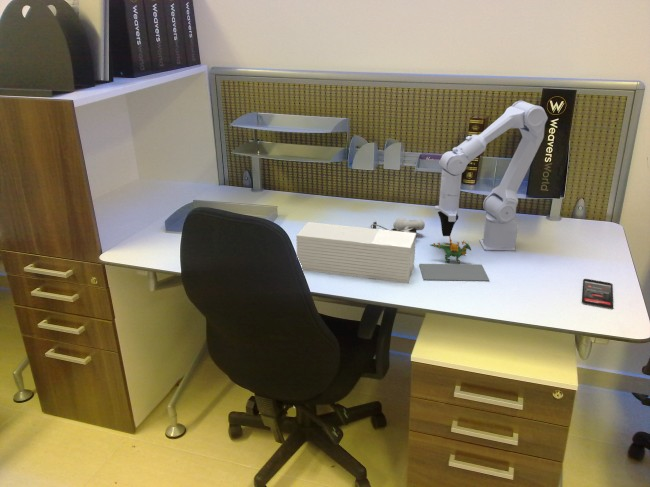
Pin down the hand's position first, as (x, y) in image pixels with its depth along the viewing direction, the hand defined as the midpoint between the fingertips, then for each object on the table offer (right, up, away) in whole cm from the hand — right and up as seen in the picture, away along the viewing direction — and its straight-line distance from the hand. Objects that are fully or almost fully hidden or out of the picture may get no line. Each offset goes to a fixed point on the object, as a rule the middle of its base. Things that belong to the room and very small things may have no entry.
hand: (446, 235), depth 174 cm
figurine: (0, -8, -5) cm, 9 cm away
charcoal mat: (-1, -11, -12) cm, 16 cm away
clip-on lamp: (-14, 0, +13) cm, 19 cm away
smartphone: (+35, -16, -24) cm, 45 cm away
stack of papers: (-28, -10, -9) cm, 31 cm away
